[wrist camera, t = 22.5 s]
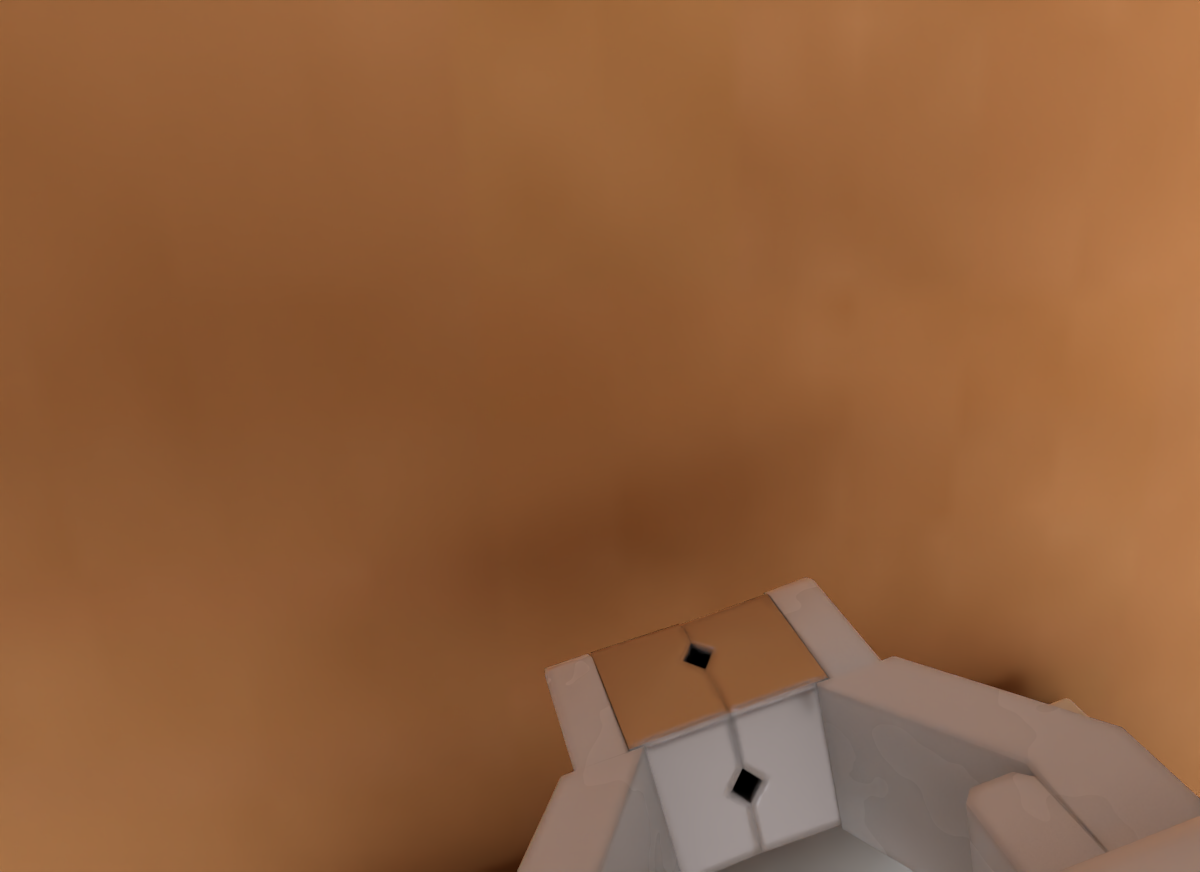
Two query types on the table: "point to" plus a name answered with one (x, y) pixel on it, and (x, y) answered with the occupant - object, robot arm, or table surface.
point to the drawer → (834, 848)
